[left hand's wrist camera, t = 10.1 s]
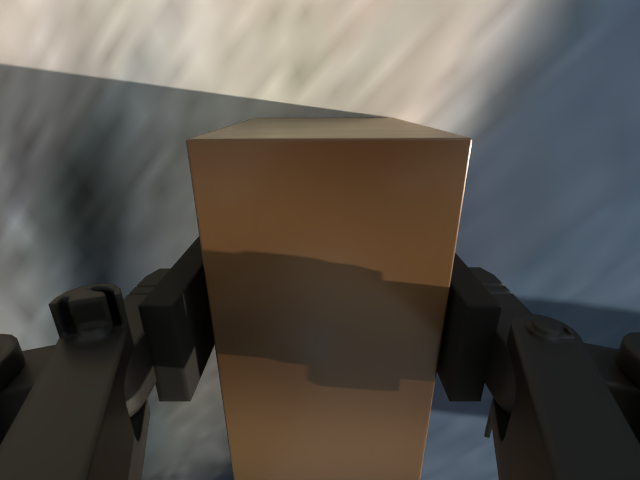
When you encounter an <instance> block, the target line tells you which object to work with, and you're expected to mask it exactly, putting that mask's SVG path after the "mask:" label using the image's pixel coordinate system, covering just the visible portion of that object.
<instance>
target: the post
mask: <svg viewBox="0 0 640 480" xmlns="http://www.w3.org/2000/svg"><path fill="white" fill-rule="evenodd" d="M186 143H187V150H188V157H189V164H190V171H191V178H192V185H193V193H194V200H195V207H196V214H197V221H198V228H199V235H200V242H201V249H202V257H203V264H204V271H205V278H206V285H207V292H208V299H209V306H210V314H211V321H212V328H213V335H214V342H215V349H216V356H217V363H218V370H219V378H220V385H221V392H222V399H223V406H224V413H225V420H226V427H227V435H228V442H229V449H230V456H231V463H232V470H233V477H234V480H420V476H421V470H422V463H423V457H424V450H425V444H426V437H427V431H428V424H429V418H430V411H431V405H432V398H433V392H434V385H435V379H436V372H437V366H438V359H439V353H440V346H441V340H442V333H443V327H444V320H445V314H446V307H447V301H448V294H449V288H450V281H451V275H452V268H453V262H454V255H455V249H456V242H457V236H458V229H459V223H460V216H461V210H462V203H463V197H464V190H465V184H466V177H467V171H468V164H469V158H470V151H471V145H472V138H469V137H465V136H462V135H458V134H454V133H450V132H446V131H442V130H438V129H434V128H430V127H427V126H423V125H419V124H415V123H411V122H407V121H403V120H399V119H395V118H254V119H251V120H247V121H244V122H241V123H238V124H234V125H231V126H228V127H225V128H221V129H218V130H215V131H212V132H208V133H205V134H202V135H199V136H195V137H192V138H189V139H187V141H186Z"/></svg>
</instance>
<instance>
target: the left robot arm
mask: <svg viewBox="0 0 640 480" xmlns="http://www.w3.org/2000/svg"><path fill="white" fill-rule="evenodd" d="M49 307H50V310H51V313H52V316H53V319H54V322H55V325H56V328H57V331H58V334H59V337H60V338H59V340H58V342H57V344H56V345H52V346H47V347H42V348H37V349H31V350H26V351H22V350H21V348H20V345H19V343H18V340H17V338H15V337H14V336H12V335H8V334H0V480H141V477H142V469H143V462H144V454H145V447H146V440H147V432H148V425H149V417H150V410H149V404H148V400H147V397H148V396H149V394H150V392H151V390H152V389H153V387H154V385H155V383H156V388H157V392H158V397H159V401H191V399H192V396H193V394H194V391H195V389H196V387H197V384H198V382H199V380H200V377H201V375H202V373H203V370H204V368H205V366H206V363H207V361H208V359H209V356H210V354H211V352H212V349H213V347H214V345H215V342H214V335H213V328H212V321H211V314H210V306H209V299H208V292H207V285H206V278H205V271H204V264H203V257H202V249H201V242H200V236H199V237H198V238H197V239H196V240H195V242H194V243H193V244H192V245H191V246H190V247H189V248H188V250H187V251H186V252H185V253H184V254H183V255H182V256H181V258H180V259H179V260H178V261H177V262H176V263H175V265H174V266H173V267H172V268H171V269H159V270H157V271H155V272H153V273H151V274H150V275H148V276H146V277H145V278H144V279H143V280H142V281H141V282H140V283H139V284H138V285H137V287H135V288H134V289H133V290H132V291H131V292H130V295H127V296H126V297H125V298H124V300H123V297H122V293H121V289H120V288H119V287H117V286H116V285H112V284H92V285H88V286H83V287H79V288H76V289H73V290H70V291H68V292H65V293H64V294H62V295H60V296H58V297H56V298H55V299H54V300H53V301H52V302H51V303H50V304H49ZM437 373H438V375H439V378H440V380H441V382H442V385H443V387H444V389H445V392H446V394H447V396H448V399H449V401H481V397H482V392H483V388H484V383H486V385H487V387H488V388H489V390H490V392H491V394H492V395H493V400H492V404H491V408H490V412H489V417H488V421H487V425H486V429H485V435H484V437H488V438H489V437H490V433H491V430H492V431H493V439H494V446H495V453H496V461H497V468H498V476H499V480H640V332H637V333H629V334H627V335H626V336H624V337H623V340H622V342H621V345H620V348H619V350H618V349H612V348H607V347H602V346H596V345H591V344H586V343H583V341H582V339H581V338H580V336H579V335H578V334H577V333H576V332H575V331H574V330H573V329H572V328H570V327H569V326H567V325H565V324H564V323H562V322H559V321H557V320H555V319H552V318H549V317H545V316H541V315H534V314H532V313H531V312H530V311H529V310H528V309H527V308H526V307H525V306H524V305H523V304H522V303H521V302H520V301H519V300H518V299H517V298H516V297H515V296H514V295H513V294H511V293H510V291H509V290H508V289H507V288H506V287H505V286H503V284H502V283H501V282H500V281H499V280H498V279H497V278H496V277H495V276H494V275H493V274H491V273H489V272H487V271H486V270H484V269H482V268H480V267H467V266H466V265H465V263H464V262H463V261H462V260H461V259H460V258H459V257H458V255H457V254H456V253H455V255H454V262H453V268H452V275H451V281H450V288H449V294H448V301H447V307H446V314H445V320H444V327H443V333H442V340H441V346H440V353H439V359H438V366H437Z"/></svg>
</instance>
